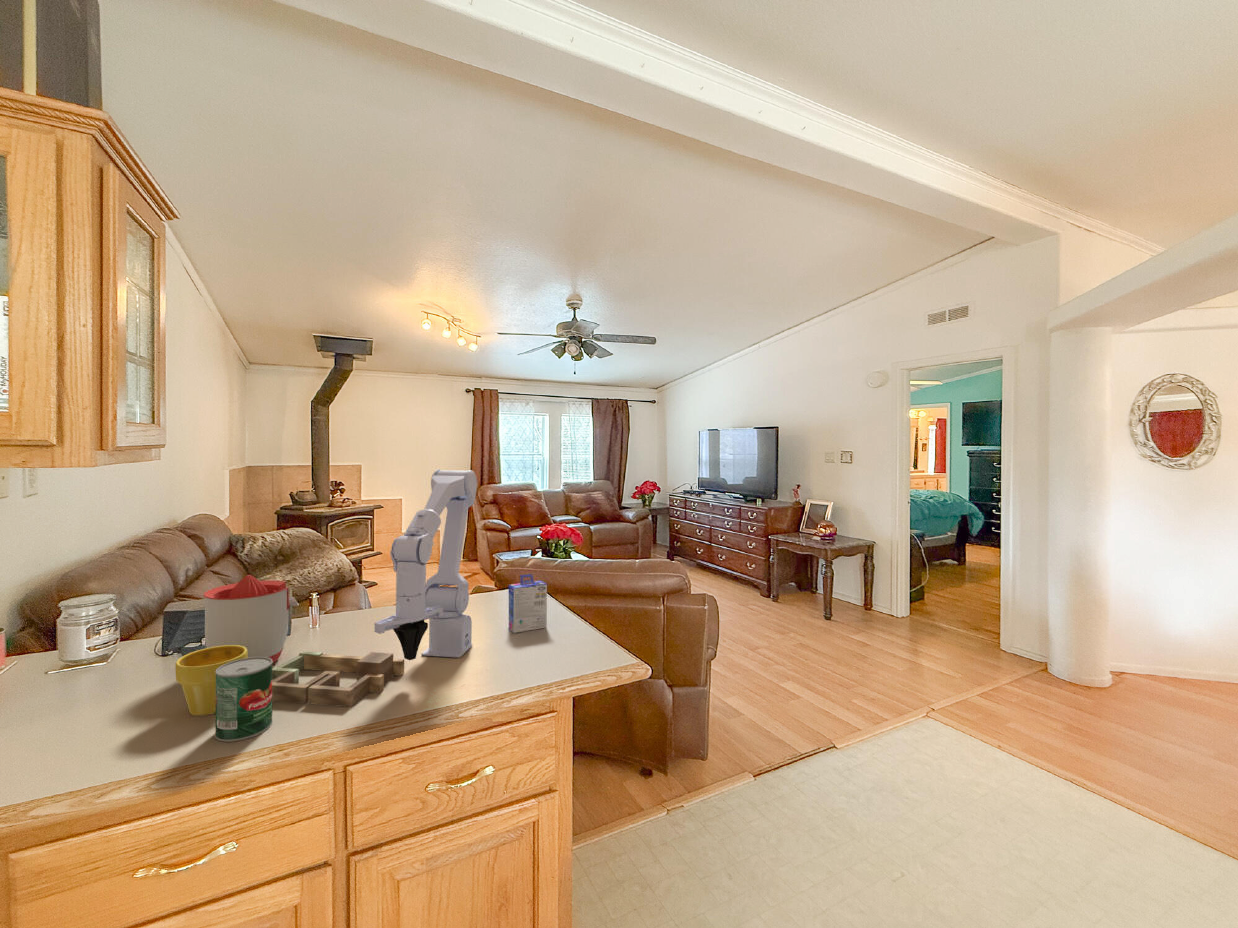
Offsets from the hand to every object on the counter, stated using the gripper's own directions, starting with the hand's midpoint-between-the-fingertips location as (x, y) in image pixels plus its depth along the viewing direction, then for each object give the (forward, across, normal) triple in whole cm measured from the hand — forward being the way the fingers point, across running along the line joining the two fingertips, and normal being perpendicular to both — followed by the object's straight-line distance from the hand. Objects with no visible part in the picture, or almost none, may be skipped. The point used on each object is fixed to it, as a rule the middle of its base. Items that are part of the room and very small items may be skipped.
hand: (410, 658), depth 105 cm
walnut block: (+5, +4, -6) cm, 9 cm away
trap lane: (+5, +10, -12) cm, 17 cm away
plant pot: (+5, +27, -20) cm, 34 cm away
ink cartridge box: (+5, -39, -4) cm, 39 cm away
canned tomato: (+5, +27, -6) cm, 28 cm away
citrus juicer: (+5, +15, -37) cm, 40 cm away
